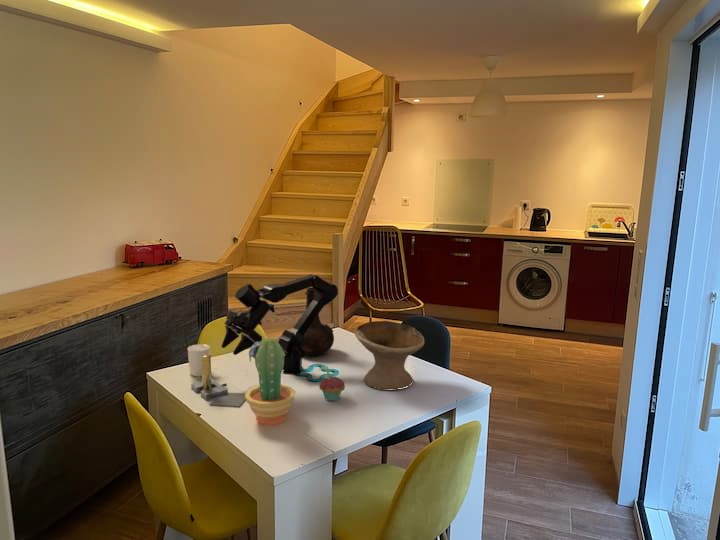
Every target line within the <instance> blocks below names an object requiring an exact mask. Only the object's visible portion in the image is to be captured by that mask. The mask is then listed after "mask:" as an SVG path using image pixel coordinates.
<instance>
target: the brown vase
mask: <svg viewBox="0 0 720 540" xmlns="http://www.w3.org/2000/svg"><path fill="white" fill-rule="evenodd" d="M315 291H316V290H315V289H314V288H313V287H309V288H306V291H305V293H304V294H305V295H306V303H305V306H306V307H305V310H306V309H307V308H308V306H309V305H310V304H311V302H312V301H313V299H314V294H315ZM334 342H335V335H334V330H333V328H331V327H330V326H329V325H328V324H324V323H322V322H321V319H320V313H319V314H318V315H317V317H316V318H315V320H314V321H313V323H312V324H311V325H310V327H309V328H308V330H307V331H306V332H305V334H304V335H303V340H302V345H301V348H302V349H303V350H304V351H305V355H304V356H311V357H313V356H316V357H317V356H321V355H323V354H325V353H327V352H329V350H330V349H331V348H332V347H333V345H334Z"/></svg>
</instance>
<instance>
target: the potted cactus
mask: <svg viewBox="0 0 720 540" xmlns="http://www.w3.org/2000/svg"><path fill="white" fill-rule="evenodd" d="M284 356H285V354H284V351H283V349H282V348H281V346H280V344H279V343H278V340H277V339H276V337H273V338H270V337H266V338H262V341H260V342H256V343H254V345H253V346H252V347H250V349H249V351H248V357H249V358H248V360H249V362H250V363H251V362H252V358H253V359H254V363H255V365H254V366H255V369H256V371H257V373H258V383H259V385H258V386H254V387H252V388H250V389H248V390H247V391H246V392H245V393H244V394H245V399H246V400H245V402H246V403H248V405H249V407H250V410H251V412H252V413H254V415H255V416H256V418H255V421H256V422H257V423H258V424H261V425H269V426H270V425H271V426H273V425H276V424H281V423H282V422H284V421H285V419H286V414H287V413H288V411H289V410H290V407H291V404H292V403H293V402H294V400H295V397H296V390H295V389H293V388H292V387H291V386H288V385H284V384H281V383H282V373H283V371H284V370H283V367H284Z"/></svg>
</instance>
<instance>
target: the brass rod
mask: <svg viewBox="0 0 720 540" xmlns="http://www.w3.org/2000/svg"><path fill="white" fill-rule="evenodd" d="M211 359H212V356H211V355H208V354H206V355H202V356H201V360H202V376H201V381H202V390H206V389H211V379H212V360H211Z"/></svg>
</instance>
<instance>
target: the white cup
mask: <svg viewBox="0 0 720 540" xmlns="http://www.w3.org/2000/svg"><path fill="white" fill-rule="evenodd" d="M210 347H211V346H210V345H208V344H192V345H190V346H188V347H187V357H188V365H189V374H190V375H191V376H195V377H202V360H201V356H202V355H206V354H208V355H210V354H211V353H210V351H211V350H210V349H211V348H210Z"/></svg>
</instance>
